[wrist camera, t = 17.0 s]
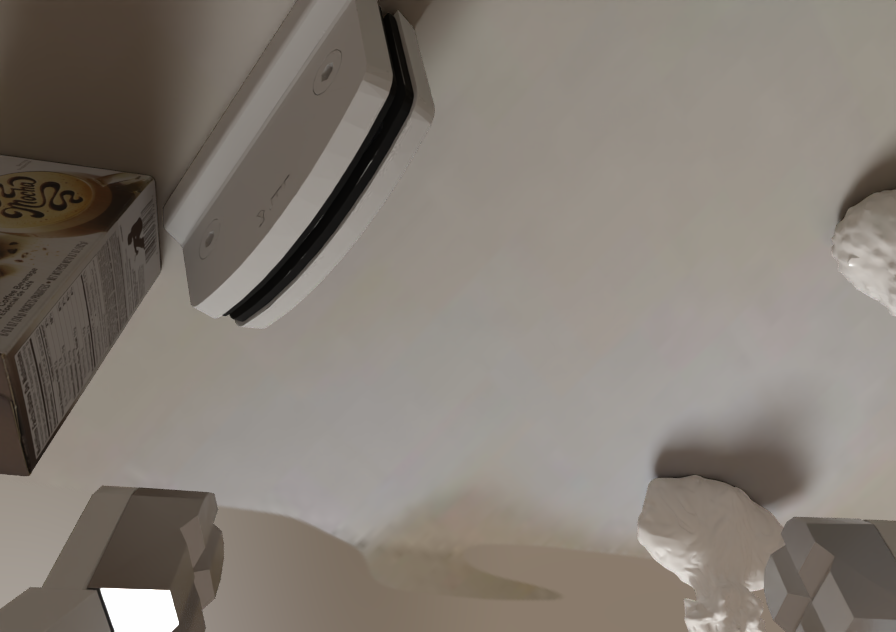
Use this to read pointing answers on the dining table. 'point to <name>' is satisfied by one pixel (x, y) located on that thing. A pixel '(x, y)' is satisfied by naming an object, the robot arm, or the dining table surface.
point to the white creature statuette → (869, 247)
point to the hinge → (300, 159)
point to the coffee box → (64, 289)
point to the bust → (711, 548)
